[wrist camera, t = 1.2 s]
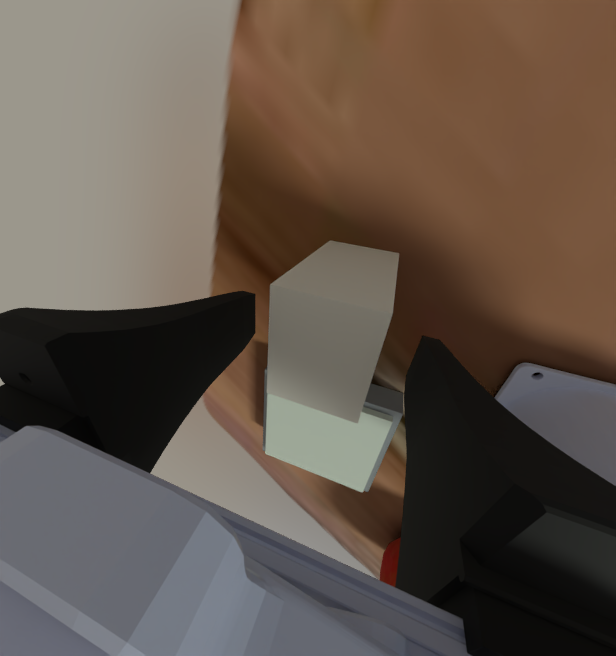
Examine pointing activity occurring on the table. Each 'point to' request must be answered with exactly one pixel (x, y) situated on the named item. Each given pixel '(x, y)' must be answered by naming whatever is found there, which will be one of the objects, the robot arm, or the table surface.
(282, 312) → the carton
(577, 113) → the table surface
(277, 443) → the tray
